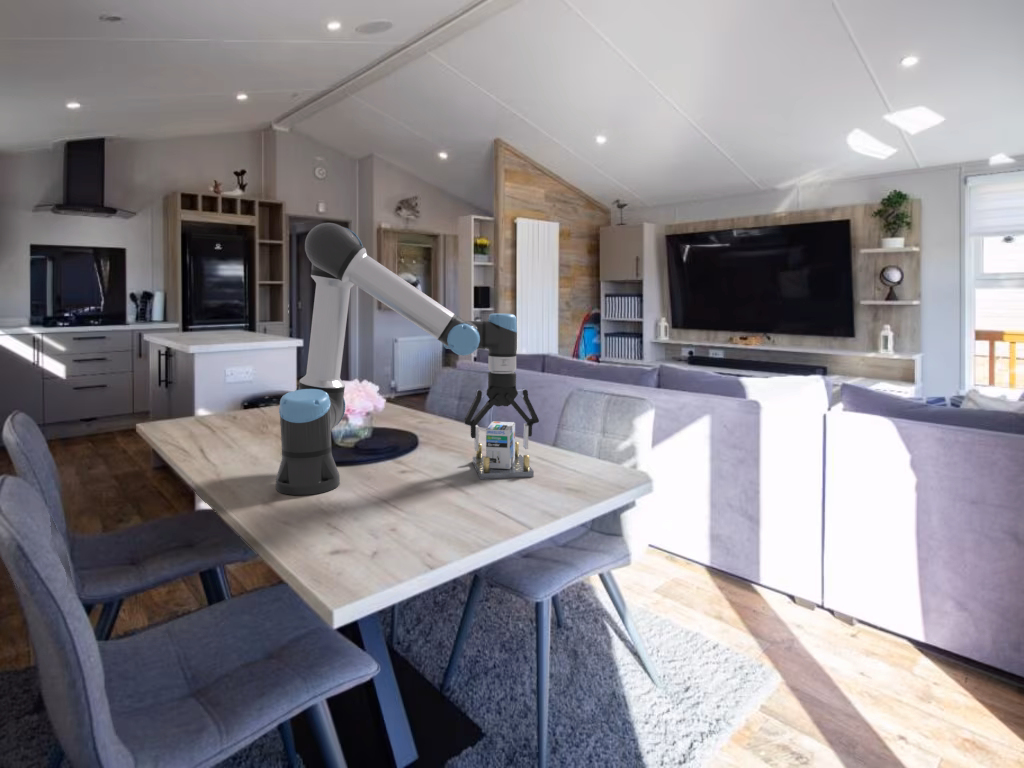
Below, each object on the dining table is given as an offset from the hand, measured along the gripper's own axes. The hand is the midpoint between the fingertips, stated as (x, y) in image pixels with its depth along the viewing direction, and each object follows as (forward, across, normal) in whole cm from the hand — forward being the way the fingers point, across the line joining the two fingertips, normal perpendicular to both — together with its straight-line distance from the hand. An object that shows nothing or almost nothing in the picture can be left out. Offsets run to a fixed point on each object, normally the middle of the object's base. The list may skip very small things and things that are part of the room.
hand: (501, 448), depth 172 cm
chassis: (+6, 0, 0) cm, 6 cm away
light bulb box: (+4, 0, 0) cm, 4 cm away
